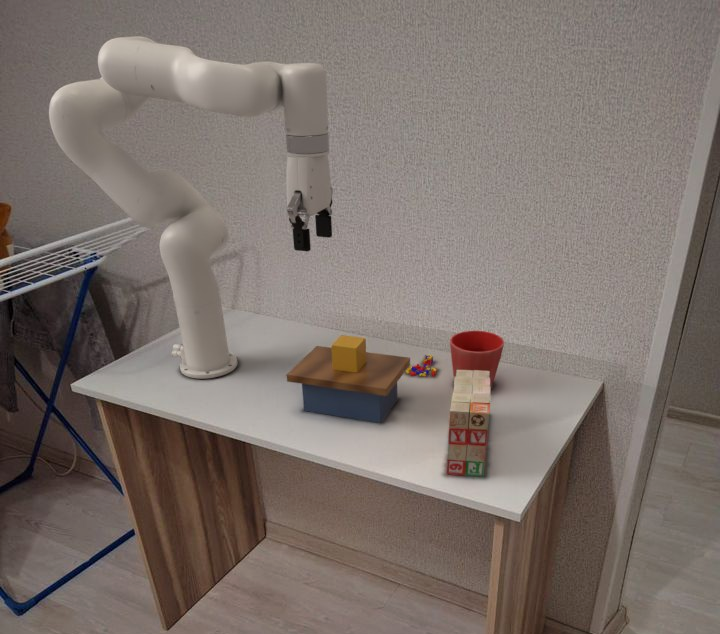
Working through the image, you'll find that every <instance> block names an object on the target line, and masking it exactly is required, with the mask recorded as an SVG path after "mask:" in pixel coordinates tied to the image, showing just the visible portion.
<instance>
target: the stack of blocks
mask: <svg viewBox="0 0 720 634" xmlns="http://www.w3.org/2000/svg"><path fill="white" fill-rule="evenodd" d="M489 375H490V371H480V370H473V371H472V370H456V377H455V378H454V377H453V392H452V394H451V402H450V408H449V419H448V420H449V421H448V422H449V424H448V441H447V443H448V444H447V445H448V447H447V449H448V450H447V456H446V457H447V458H446V475H452V476H463V477H464V476H468V477H479V478H481V477H484V475H485V467H486V455H487V446H488V437H489V436H488V435H489V424H490V416H491V395H492V394H491V393H492V391H491V388H492V387H490V378H489Z"/></svg>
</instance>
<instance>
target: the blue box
mask: <svg viewBox="0 0 720 634" xmlns="http://www.w3.org/2000/svg"><path fill="white" fill-rule="evenodd" d="M301 390H302V402H303V403H302V404H303V411H304V412H310V413H314V414H315V413H316V414H323V415H327V416H335V417H341V418H348V419H353V420H358V421H359V420H360V421H365V422H371V423H378V424H381V423H382V422H383V421H384V419H385V418H386V416H387V415H388V413H389V412H390V411H391V409H392V408H393V406H394V405H395V403H396V402H397V401H398V382H397V383H396V384H395V385H394V387H393V388H392V390H391V391H390V392H389V394H388V395H387V396H382V395H376V394H369V393H362V392H355V391H348V390H342V389H335V388H328V387H321V386H315V385H308V384H301Z"/></svg>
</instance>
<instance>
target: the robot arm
mask: <svg viewBox="0 0 720 634" xmlns="http://www.w3.org/2000/svg"><path fill="white" fill-rule="evenodd" d="M97 66H98V67H97V68H98V71H99V74H100V76H101V77H100V78H96V79H90V80H81V81H76V82H72V83H68V84H65V85H64V86H63V85H62V87H59V89H57V90H56V91H55V92H54V94H53V95H52V97H51V99H50V101H49V106H48V118H49V124H50V128H51V131H52V134H53V136H54V139H55V141H56V143H57V144H58V146H59V147H60V149H61V150H62V152H63V153H64V154H65V155H66V156H67V157H68V158H69V159H70V161H71V162H73V164H75V165H76V166H77V167H78V168H79V169H80V170H81V171H83V172H84V173H85V174H86V175H87V176H88V177H89V178H90V179H91V180H92V181H94V183H96V184H97V185H98V186H99V187H100V189H101V190H102V191H103V192H104V193H105V194H106V195H107V196H108V197H109V198H110V199H111V200H112V201H113V202H114V203H115V204H116V205H117V206H118V207H120V209H121V210H122V211H123V212H124V213H125V214H126V215H127V216H128V217H129V218H130V219H131V220H132V221H133V222H134V223H136V224H137V225H138V226H140V227H142V228H146V229H150V228H156V227H158V226H160V225H163V224H164V223H166V222H169V223H170V224H169V225H168V226H167V227H166V228H165V229H164V231H163V232H162V233H161V236H160V239H159V253H160V257H161V261H162V263H163V266H164V267H165V270H166V273H167V276H168V279H169V284H170V288H171V292H172V297H173V302H174V307H175V311H176V316H177V321H178V326H179V332H180V336H181V341H182V344H181V343H174V344H173V345H172V351H171V356H172V357H176V358H181V362H180V364H179V369H180V372H181V374H183V375H184V376H186V377H188V378H191V379H200V380H202V379H203V380H205V379H214V378H219V377H222V376H225V375H227V374H230V373H231V372H233V371H235V369H236V368H237V366H238V358H237V356H236V355H235V354H233V353H231V352H230V351H229V345H228V339H227V338H228V337H227V332H226V325H225V319H224V313H223V306H222V300H221V293H220V287H219V282H218V280H217V277H216V274H215V272H214V270H213V268H212V265H211V260H212V259H214V258H215V257H216V256H217V255H219V254H220V253H221V252H222V251H223V250H224V249H225V248H226V246H227V244H228V241H229V229H228V227H227V224H226V222H225V220H224V219H223V218H222V216H221V215H220V213H219V212H218V211H217V210H216V208H214V207H213V206H212V205H211V204H210V203H209V202H208V201H207V200H206V198H204V197H203V195H201V194H200V192H199V191H198V190H197V189H196V188H195V187H194V186H193V185H192V184H191V183H190V182H189V181H188V180H187V179H186V178H185V177H184V176H183V175H181V174H180V173H178V172H176V171H174V170H173V169H169V168H165V167H162V168H155V169H151V170H149V171H148V170H146V169H145V168H144V167H143V166H141V164H140V163H138V162H137V161H136V160H135V159H134V158H133V157H132V156H131V154H130V153H129V152H128V151H126V149H125V148H123V147H122V146H121V145H120V144H118V143H116V142H114V141H113V140H111V139H110V138H109V137H107V136H106V135H104V134H103V132H105V131H110V130H113V129H116V128H119V127H122V126H124V125H126V123H128V122H129V121H130V120H131V119H132V118H133V117H134V116H135V115H136V114H137V113H138V112H139V111H140V110H141V109H142V108H143V107H144V105H146V104H147V102H149V100H151V98H152V99H158V100H164V101H170V102H176V103H182V104H186V105H187V106H190V107H194V108H197V109H201V110H204V111H208V112H212V113H219V114H224V115H230V116H236V117H237V116H238V117H246V118H252V117H253V118H254V117H259V116H262V115H263V114H266V113H270V112H273V111H277V110H281V109H283V116H284V129H285V141H286V143H285V144H286V154H287V158H286V171H285V173H286V176H285V178H286V180H285V181H286V183H285V186H286V212H287V215H288V217H289V218H288V221H289V223H290V228H291V229H292V238H293V239H292V241H293V249H294V251H299V252H310V251H311V249H312V248H311V247H312V245H311V232H310V228H308V225H309V222H310V219H311V217H312V216H314V218H315V220H314V221H315V235H316V237H318V238H319V237H320V238H328V239H329V238H332V237H333V224H332V221H333V220H332V214H333V209H332V206H333V202H334V201H333V194H334V188H333V187H332V184H331V183H332V181H331V172H330V171H331V170H330V164H329V163H330V162H329V156H328V155H329V154H330V139H329V138H330V137H329V136H330V135H329V114H328V113H329V112H328V92H327V91H328V89H327V74H326V70H325V68H324V66H323V65H322V64H320V63H317V62H294V63H280V62H275V61H259V62H251V63H247V64H241V63H240V64H239V63H231V62H224V61H218V60H212V59H207V58H203V57H200V56H198V55H196V54H195V53H194V52H193V50H192V49H190V48H188V47H186V46H181V45H173V44H165V43H159V42H156V41H154V40H153V39H151V38H149V37H146V36H139V35H137V36H120V37H114V38H111V39H109V40H107V41H105V43H103V45H102V46H101V47H100V48H99V51H98V55H97ZM301 217H302V218H301Z"/></svg>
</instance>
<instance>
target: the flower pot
mask: <svg viewBox="0 0 720 634" xmlns="http://www.w3.org/2000/svg"><path fill="white" fill-rule="evenodd" d="M449 346H450V348H449V349H450V358H451V365H452V373H453V374H452V375H453V379H454V378H455V377H456V370H472V371H473V370H480V371H490V375H489V378H490V387H491V388H492V387H493V385H494V382H495V378H496V375H497V371H498V368H499V365H500V361H501V357H502V354H503V351H504V346H505V341H504V338H503V337H501V335H499V334H496V333H493V332H490V331H485V330H467V331H462V332H457V333H455V334H454V335H452V336H451V337H450V340H449Z"/></svg>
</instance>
